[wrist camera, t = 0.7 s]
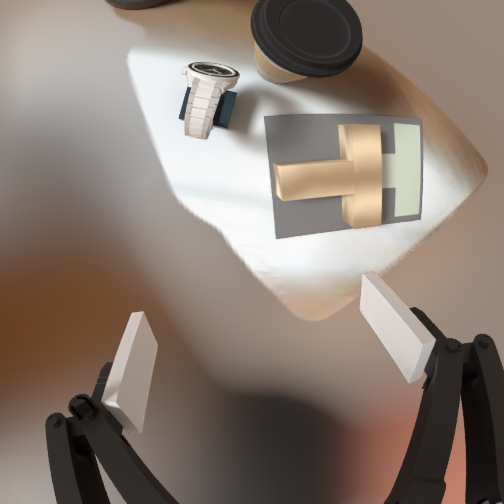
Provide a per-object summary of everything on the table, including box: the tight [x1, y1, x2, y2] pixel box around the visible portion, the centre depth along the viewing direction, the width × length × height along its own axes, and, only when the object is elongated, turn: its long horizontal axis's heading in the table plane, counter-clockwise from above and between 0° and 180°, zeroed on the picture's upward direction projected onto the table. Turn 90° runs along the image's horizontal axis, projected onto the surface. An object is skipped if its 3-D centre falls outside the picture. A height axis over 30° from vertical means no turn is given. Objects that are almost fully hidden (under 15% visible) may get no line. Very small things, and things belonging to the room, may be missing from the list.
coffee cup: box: [251, 0, 363, 84], centre depth 22 cm, size 9×9×15 cm
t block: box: [273, 124, 382, 229], centre depth 33 cm, size 13×13×4 cm
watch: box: [179, 62, 240, 140], centre depth 25 cm, size 6×8×11 cm
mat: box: [264, 114, 423, 239], centre depth 35 cm, size 16×24×1 cm, turn 96°
